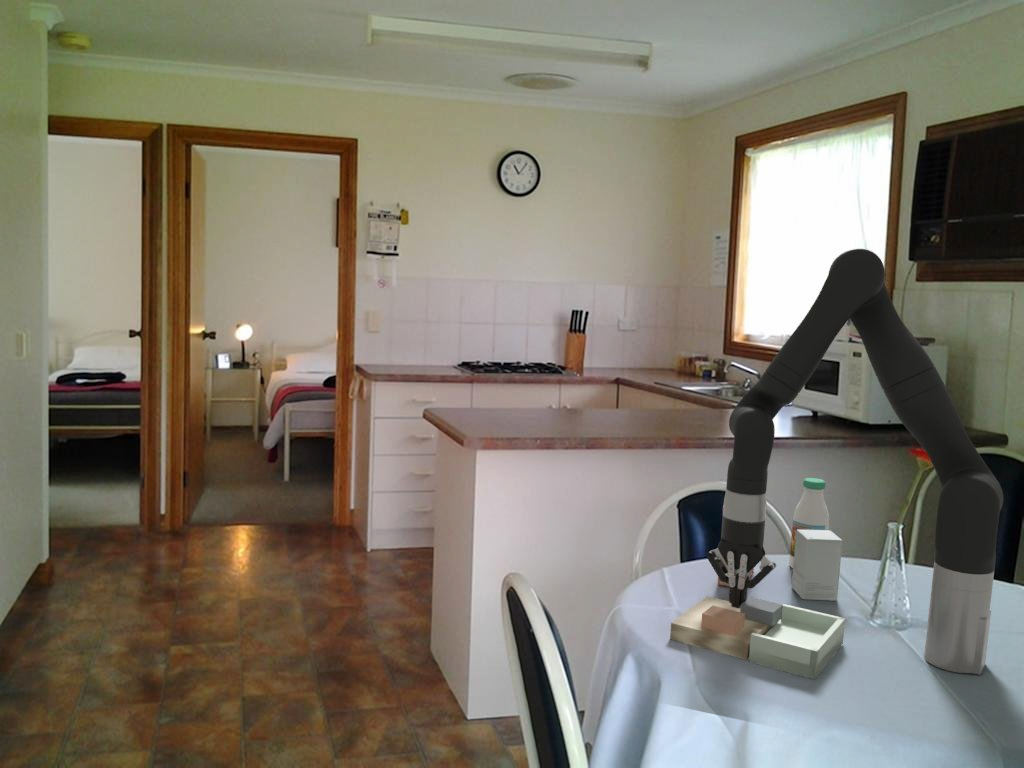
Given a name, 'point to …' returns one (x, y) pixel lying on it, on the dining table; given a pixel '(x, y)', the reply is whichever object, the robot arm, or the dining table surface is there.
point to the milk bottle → (809, 511)
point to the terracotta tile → (723, 620)
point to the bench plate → (694, 634)
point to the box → (799, 642)
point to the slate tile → (762, 611)
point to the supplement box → (817, 564)
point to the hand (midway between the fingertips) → (736, 606)
